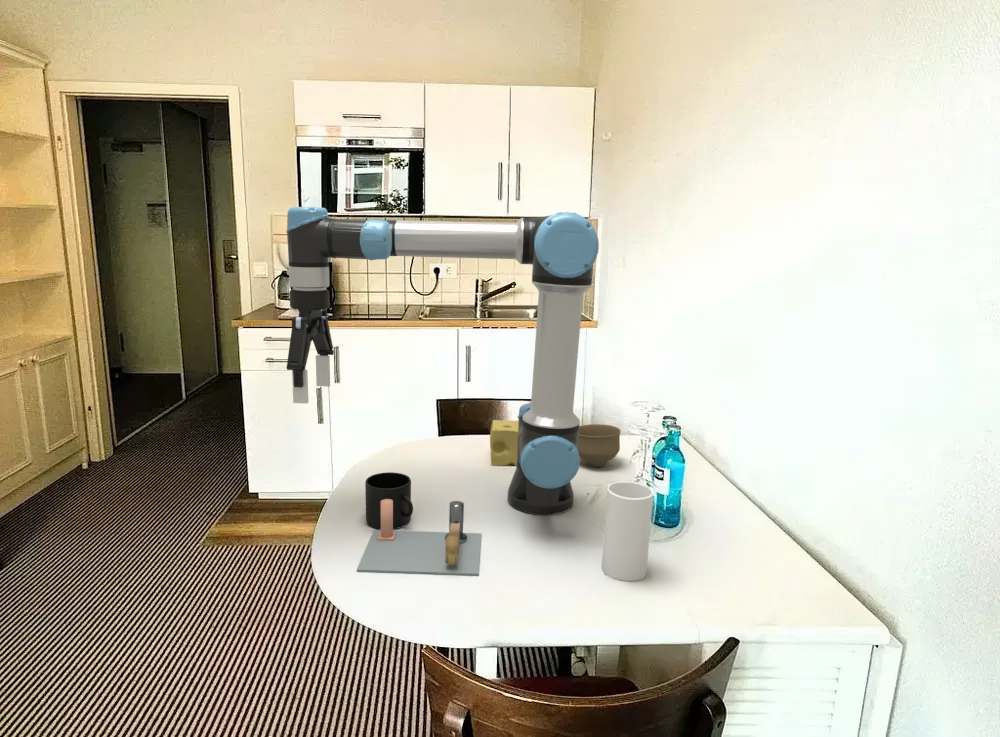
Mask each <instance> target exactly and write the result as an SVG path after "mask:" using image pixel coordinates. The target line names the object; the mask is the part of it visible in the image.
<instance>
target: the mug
mask: <svg viewBox="0 0 1000 737" xmlns="http://www.w3.org/2000/svg"><path fill="white" fill-rule="evenodd" d="M364 489H365V494H364V495H365V521H366V524H367V525H368V526H369V527H370V528H374V529H375V530H381V500H383V499H391V500H393V530H396V529H400V528H402V527H405V526H406V525H408V524H409V523H410V521H411V519H412V518H411V517H412V515H413V513H414V505H413V502H412V480H411V478H410V477H409V476H408V475H406V474H404V473H401V472H392V471H391V472H380V473H379V472H378V473H376V474H372V475H370V476H368V477H367V478H366V479H365V486H364Z"/></svg>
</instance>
